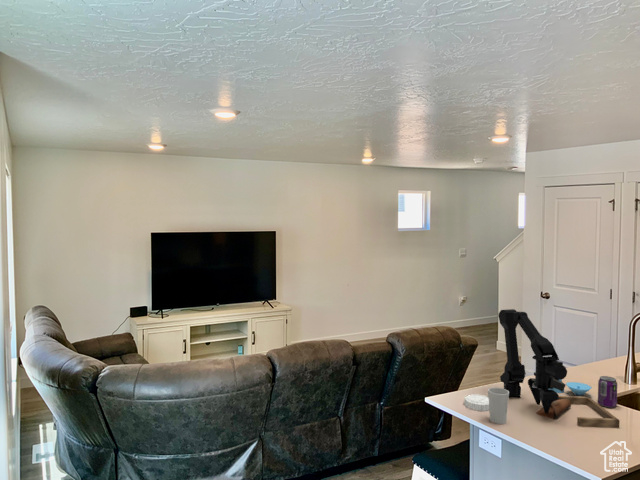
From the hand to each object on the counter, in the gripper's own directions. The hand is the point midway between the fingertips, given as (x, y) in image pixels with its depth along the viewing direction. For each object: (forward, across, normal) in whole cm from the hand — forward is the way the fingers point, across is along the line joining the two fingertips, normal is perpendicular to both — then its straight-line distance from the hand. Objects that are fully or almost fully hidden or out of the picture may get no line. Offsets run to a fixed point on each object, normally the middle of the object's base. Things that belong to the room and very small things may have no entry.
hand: (542, 409), depth 197 cm
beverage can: (+2, +12, -31) cm, 33 cm away
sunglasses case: (+2, +2, -6) cm, 6 cm away
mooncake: (+2, +5, +25) cm, 25 cm away
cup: (+2, -10, +20) cm, 23 cm away
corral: (+2, 0, -16) cm, 16 cm away
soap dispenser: (+2, +25, -21) cm, 33 cm away
